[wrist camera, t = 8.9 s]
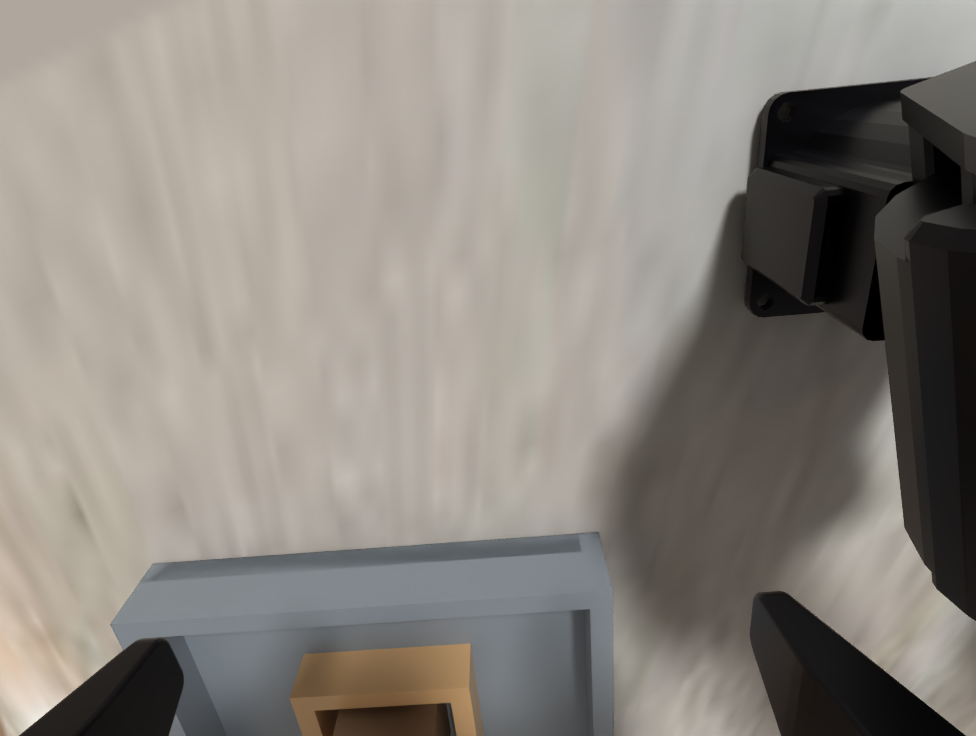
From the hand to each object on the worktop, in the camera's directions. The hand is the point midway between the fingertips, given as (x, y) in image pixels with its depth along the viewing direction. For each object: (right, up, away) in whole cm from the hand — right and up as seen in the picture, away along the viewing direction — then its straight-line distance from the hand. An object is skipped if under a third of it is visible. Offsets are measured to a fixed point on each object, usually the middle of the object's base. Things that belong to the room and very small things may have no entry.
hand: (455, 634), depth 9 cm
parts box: (-3, -10, +18) cm, 21 cm away
